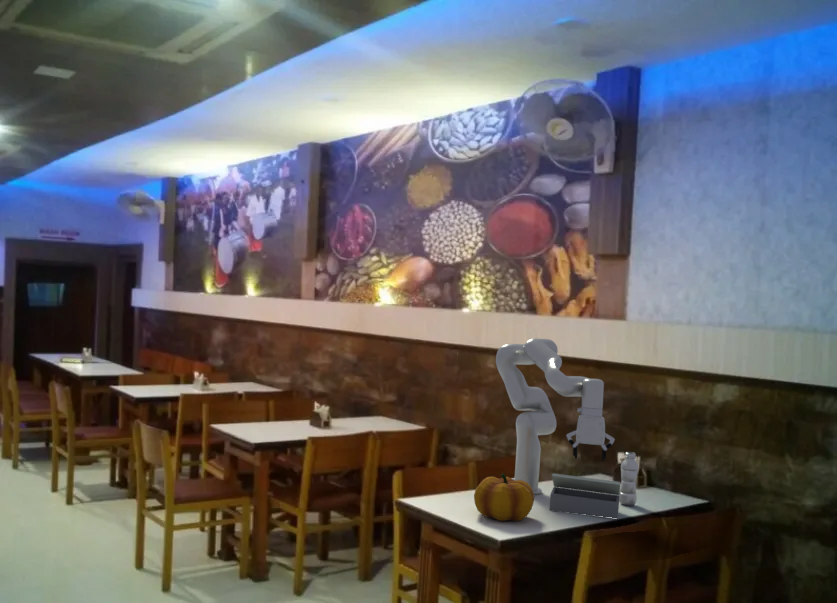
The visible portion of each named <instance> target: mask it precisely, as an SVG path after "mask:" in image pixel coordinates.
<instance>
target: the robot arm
mask: <svg viewBox="0 0 837 603" xmlns="http://www.w3.org/2000/svg"><path fill="white" fill-rule="evenodd" d="M558 352H559V351H558V345H557V344H556V342H554V341H553V340H552V339H549V338H537V337H536V338H531V339H528V340H526V342H525V343H523V344H522V343H508V344H507V343H506V344H504V345H502V346H500V347H499V348H498V350H497V352H496V355H495V356H496V357H495V364H496V368H497V372H498V373H499V375H500V377H501V379H502V381H503V383H504V386H505V387H504V388H505V389H506V392H507V395H508V397H509V400H510V403H511V406H512V407H513V408H514V409H515V410H516V411H524V412H521V413H520V414H519V415H518V416H516V419H515V431H516V449H515V450H516V453H515V465H514V467H515V469H514V477H511V479H513V480H515V481H516V480H522V481H525V482H527V483H528V484H529V485H530V486H531V488H532V490H533V493H534V496H535V495H540V494H542V491H543V490H542V488H540V487H539V476H540V464H541V452H542V450H541V449H542V448H541V443H540V439H539V436H548V435H551V434H553V433H554V432H555V431H556V428H557V419H556V416H555V412H554V410H553V407H552V405H551V403H550V400H549V397H548V395H547V393H546V392H545V391H544V389H542V388H540V387H538V386H529V385H528V383H527V380H526V379H525V376H524V374H523V372H521V370H520V369H519V368H518V367H517V365H518V366H519V365H522V366H523V365H525V366H531V365H536V366H537V367H538V368H539V369H541V370H542V371H543V373H544V377H545V378H544V379H546V380H545V381H546V382H547V384H548V385H549V386H550V387H551V388H552V389H553V390H554V391H555V392H556V393H557V394H559V395H561V396H562V397H570V398H571V397H579V398H580V397H581V407H578V408H576V409H577V410H576V411H577V413H580V415H578V418H577V424H576V430H573V431H571V432H569V433H567V434H566V435H565V437H566V438H567V440H568V442H569V444H570V445H571V446H572V451H573V452H572V456H573V457H574V459H576V460H577V458H578V448H579V447H578V445H579V444H581V445H582V444H583V445H584V444H585V445H592V446H593V445H594V446H595V445H596V446H601V448H602V449H601V462H604V461H605V460H607V450H608V449H610V448H611V447H612V446H613V444H614V442H615V440H616V439H615V438H614V437H613V436H611V435H609V434H608V433H606V423H605V421H606V420H605V417H603V406H604V387H605V382H604V381H603V380H602V379H599V378H589V377H586V376H583V375H582V376H581V375H580V376H576V375H575V376H574V375H565V374H564V373H563V372H562V371H561V370H560V368H561V367H562V363H563V360H562V357H561V356H559V354H558ZM573 436H575V441H574V440H573V439H572V437H573ZM605 439H607V440H609V442H608V443H607V444H605Z"/></svg>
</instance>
